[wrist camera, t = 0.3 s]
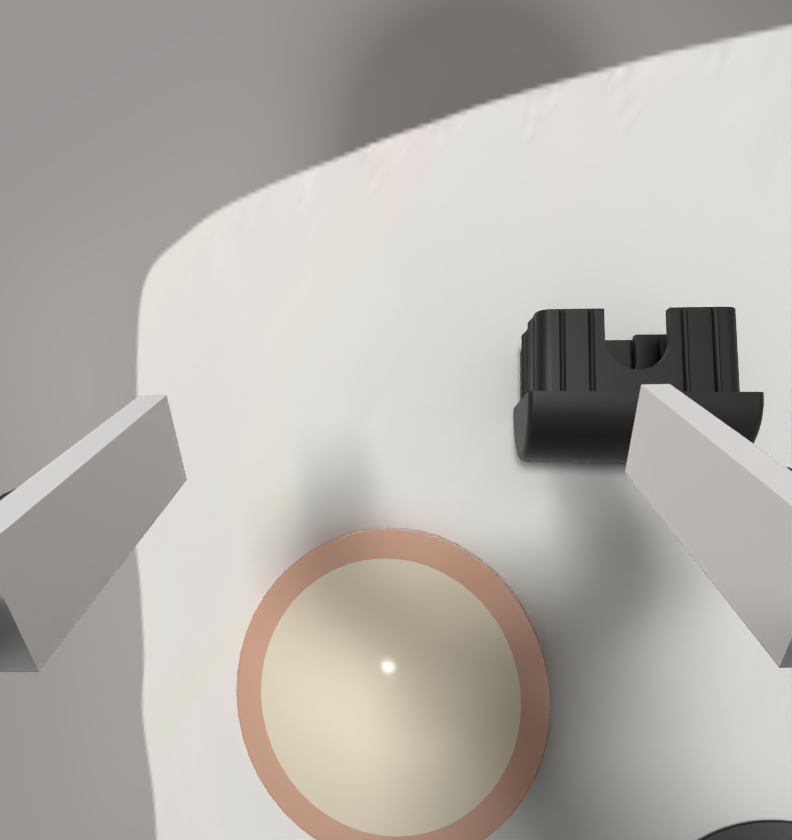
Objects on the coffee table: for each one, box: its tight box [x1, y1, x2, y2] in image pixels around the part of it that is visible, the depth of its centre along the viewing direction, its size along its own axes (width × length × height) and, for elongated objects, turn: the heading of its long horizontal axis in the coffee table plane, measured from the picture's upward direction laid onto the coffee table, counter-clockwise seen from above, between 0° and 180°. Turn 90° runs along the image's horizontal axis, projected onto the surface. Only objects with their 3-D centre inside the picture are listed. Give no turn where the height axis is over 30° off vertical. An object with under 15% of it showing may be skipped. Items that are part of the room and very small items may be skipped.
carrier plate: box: [237, 528, 550, 840], centre depth 27 cm, size 17×17×2 cm
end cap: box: [514, 307, 764, 463], centre depth 25 cm, size 10×7×7 cm
